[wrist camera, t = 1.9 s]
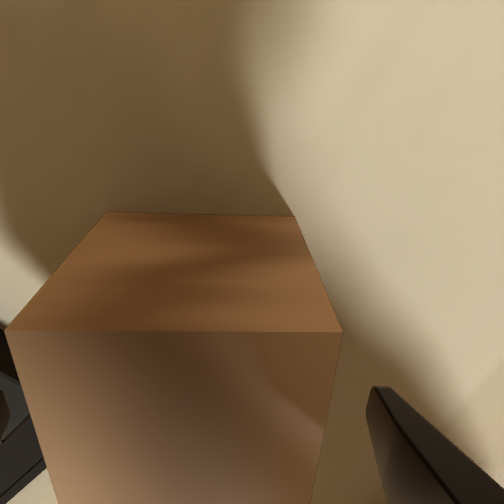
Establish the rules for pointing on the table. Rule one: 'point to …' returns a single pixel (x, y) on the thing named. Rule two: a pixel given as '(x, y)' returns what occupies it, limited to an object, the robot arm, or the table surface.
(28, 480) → the vhs tape
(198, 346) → the walnut cube
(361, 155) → the table surface
